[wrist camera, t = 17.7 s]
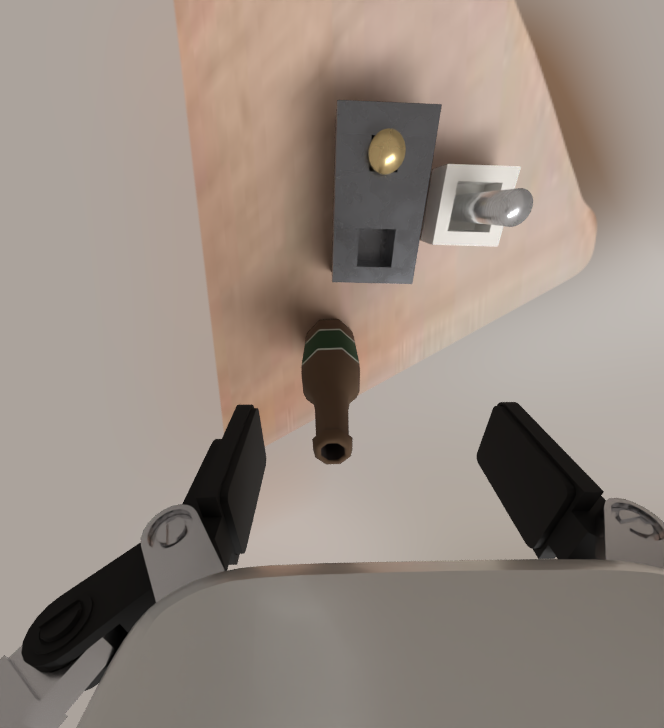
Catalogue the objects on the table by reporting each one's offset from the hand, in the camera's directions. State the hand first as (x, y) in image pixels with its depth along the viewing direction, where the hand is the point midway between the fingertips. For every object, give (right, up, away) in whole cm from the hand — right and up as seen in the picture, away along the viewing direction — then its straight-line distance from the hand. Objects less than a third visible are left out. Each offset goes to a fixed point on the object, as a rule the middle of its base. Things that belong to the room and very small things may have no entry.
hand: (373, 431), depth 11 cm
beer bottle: (-2, +7, +34) cm, 35 cm away
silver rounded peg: (+15, +23, +24) cm, 36 cm away
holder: (+15, +23, +25) cm, 37 cm away
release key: (+4, +27, +22) cm, 35 cm away
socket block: (+4, +23, +25) cm, 34 cm away
